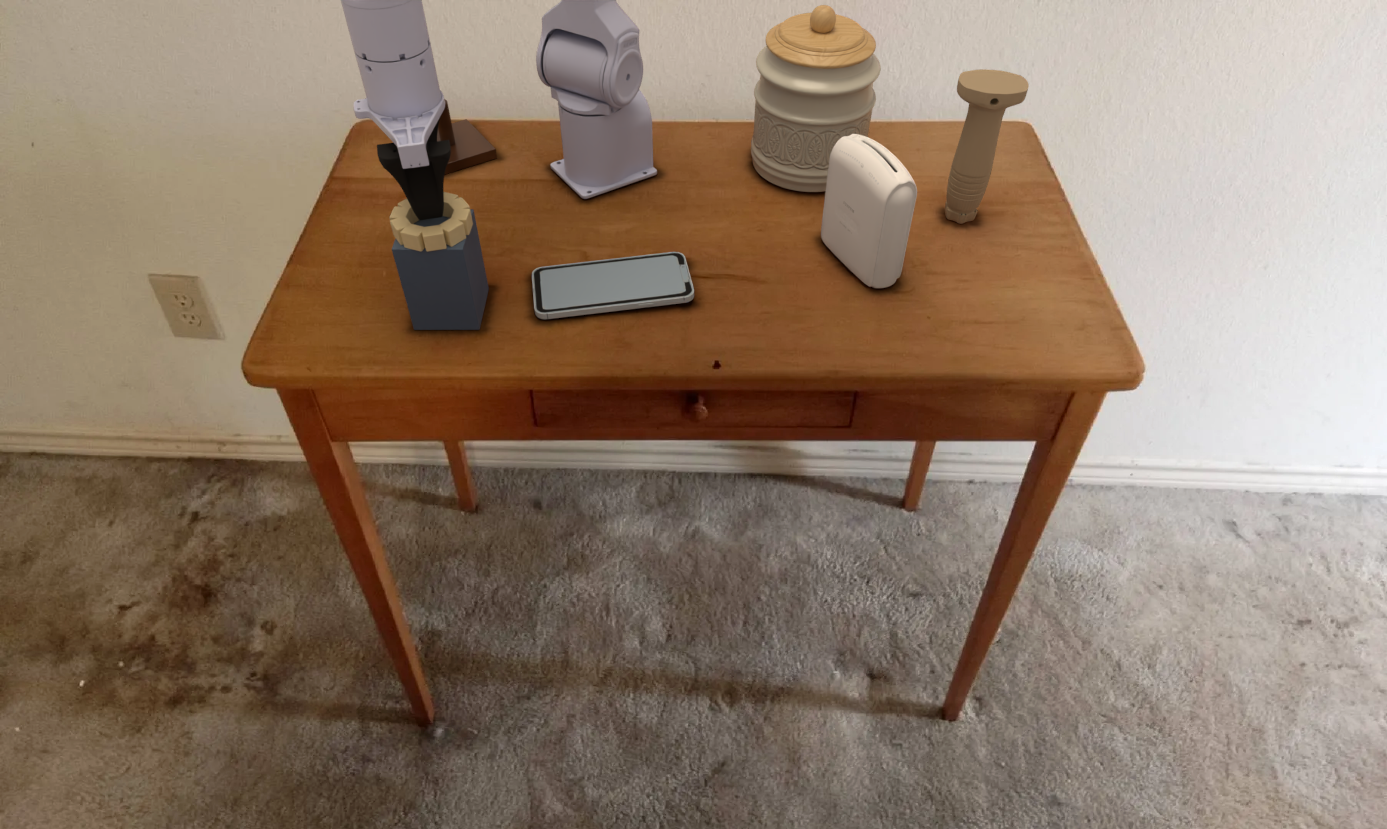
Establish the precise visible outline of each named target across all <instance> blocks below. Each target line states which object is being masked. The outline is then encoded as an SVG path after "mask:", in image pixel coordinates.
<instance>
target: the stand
mask: <svg viewBox="0 0 1387 829" xmlns="http://www.w3.org/2000/svg"><path fill="white" fill-rule="evenodd" d="M444 100H445V108H444V111H443V112H442V114H441V117H440V120H439V125H438V133H437V141H444V140H449V142H450V147H451V154H450V159H449V162H448V164H447V167H446V170H445V174H444V176H445V175H447V174H451V173H454V172H458V171H460V170H464V169H467V168H469V167H474V166H476V165H480V164H483V163H486V162H489V161H492V160H495V159H497V158H498V156H497V149H496V148H495V147H494V146H493V144H491V142H490V141H488V139H486V137H485V136H484V135H483V134H482V133H481V132H480V131H479V130H478V129H477V128H476V127H475V126H474V125H473V124H472V123H471V122H470V121H469V120H468V119H461V120H459V121H455V122H452V117H451V112H450V108H449V103H448V100H446V99H445V98H444Z"/></svg>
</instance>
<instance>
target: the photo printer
mask: <svg viewBox="0 0 1387 829" xmlns="http://www.w3.org/2000/svg"><path fill="white" fill-rule="evenodd" d="M917 197H918V188H917V184H916V181H915V180H914V179H913V176H912V175H911V173H910V172H909V170H908V169H907V167H906V166H905V165H904V164H903V163H902V161H901V160H900V159H899V158H898V157H897V156H896V155H895V154H894V153H892V151H890V150H889V149H888V148H887V147H886V146H884V145H883V144H882V143H880V142H878V141H877V140H874V139H873V138H871V137H869V136H868V137H866V136H863V135H858V134H851V135H850V136H843V137H842V138H840V139H839V140H838V141H837V143H836V144H835V146H834V147H833V149H832V152H831V154H830V160H829V168H828V175H827V184H826V191H824V202H823V210H822V218H821V227H820V228H821V229H820V238H821V240H822V243H823V244H824V245H825V246H826V247H827V248H828V249H829V251H830V252H831V253H832V254H833V255H834V256H835V257H836V258H837V259H838V260H839V261H840V262H841V263H842V264H843V266H845V267H846V269H848V270H849V271H850V272H851V273H853V275H854V276H855V277H857V278H858V279H859V280H860V281H861V282H862V283H863V284H864V285H866V286H868V287H869V288H871V287H872V288H873V289H884V288H885V289H886V288H889V287H891V286H892V285H894V284H895V283H896V282H897V280H898V279H899V278H901V275H902V272H903V267H904V262H905V256H906V251H907V246H908V241H909V236H910V231H911V228H912V227H911V226H912V223H913V222H912V221H913V218H914V212H915V207H916V202H917Z"/></svg>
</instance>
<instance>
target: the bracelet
mask: <svg viewBox="0 0 1387 829" xmlns="http://www.w3.org/2000/svg"><path fill="white" fill-rule="evenodd" d="M470 209H471V207H470V205H469V204H468V203H467V201H466V200H465V199H464V198H463V197H462V196H461V197H460V196H459V195H458V194H454V193H451V192H448V191H447V192H446V191H444V211H443V216H445V217H449V218H450V219H448V220H447V221H445V222H443V223H441V224H440V225H434V226H428V227H423V226H419V225H414V223H415V222H417V221H419V219H418V218H417V216H416V215H415V213H414V211H413V210H412V208H411V206H410V204H409V202H408V199H407V198H405V199H403V200H402V201H399V202H398V203H397V206H396V205H395V206H393V208H392V211H391V213H390V215H389V217H388V218H389V224H390V228H391V231H392V235H393V237H394V239H397V241H398V242H399V244H400V245H403V244H404V247H405V248H409V249H413V250H417V251H423V249H424V248H426V251H427V252H428V251H435V250H441V249H446V248H447V246H446V244H447V245H449V246H451V247H452V246H454V245H456V244H457V243H459V242H461V241H462V240H464V239H466V235H469V234H470V231H471V228H472V225H473V221H472V216H471V211H470Z"/></svg>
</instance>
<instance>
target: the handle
mask: <svg viewBox="0 0 1387 829" xmlns="http://www.w3.org/2000/svg"><path fill="white" fill-rule="evenodd" d="M1029 84H1030V83H1029V81H1028V80H1027V79H1026V78H1025V77H1024V76H1022V75H1021V74H1017V73H1013V72H1010V71H1005V70H998V69H987V68H986V69H973V70H966V71H962V72H961V73H960V74H959V76H958V80H957V85H956V93H957V95H958V97H959V98H960V99H962V100H963V101H964V102H966V103H967V104H968V107H967V113H966V116H965V119H964V123H963V126H962V130H961V133H960V137H959V141H958V144H957V146H956V150H955V153H954V156H953V159H952V162H951V166H950V171H949V175H948V180H947V187H946V198H945V199H946V200H945V203H944V212H945V218H946V219H947V220H950V221H953V222H956V223H957V224H958V225H964V224H965V223H967V222H973V221H974V220H975V218H976V216H977V214H978V208H979V207H980V204H981V203H982V201H983V198H984V196H985V193H986V191H987V188H988V185H989V182H990V177H991V174H992V171H993V165H994V161H995V157H996V156H995V155H996V150H997V147H998V141H999V140H998V139H999V136H1000V132H1001V128H1002V127H1001V126H1002V122H1003V118H1004V115H1005V113H1006V110H1007V109H1008V108H1010V107H1014V106H1018V105H1020V104H1022V103H1023V102H1024V101H1025V100H1026V97H1027V94H1028V91H1029V87H1030V86H1029Z"/></svg>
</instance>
